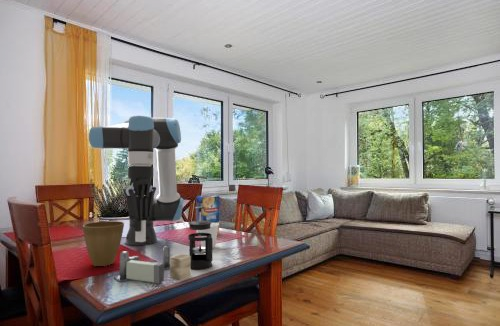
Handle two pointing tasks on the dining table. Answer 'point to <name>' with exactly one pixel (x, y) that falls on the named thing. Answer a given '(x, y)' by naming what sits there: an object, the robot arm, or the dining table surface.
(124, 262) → the metal knob post
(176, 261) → the block
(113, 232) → the plant pot
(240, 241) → the dining table surface
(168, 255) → the post
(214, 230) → the cup
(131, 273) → the gate
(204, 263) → the french press
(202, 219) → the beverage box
